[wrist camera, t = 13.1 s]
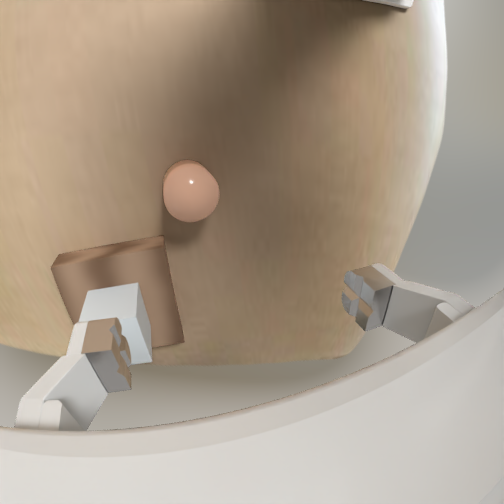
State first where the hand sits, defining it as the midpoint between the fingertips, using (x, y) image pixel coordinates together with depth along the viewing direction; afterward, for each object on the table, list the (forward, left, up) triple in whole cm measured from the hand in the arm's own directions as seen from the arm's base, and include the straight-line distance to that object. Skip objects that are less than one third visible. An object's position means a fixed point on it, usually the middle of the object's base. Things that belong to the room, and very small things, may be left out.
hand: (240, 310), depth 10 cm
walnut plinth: (+9, +11, -20) cm, 25 cm away
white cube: (+9, +11, -17) cm, 22 cm away
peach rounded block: (0, 0, -20) cm, 20 cm away
